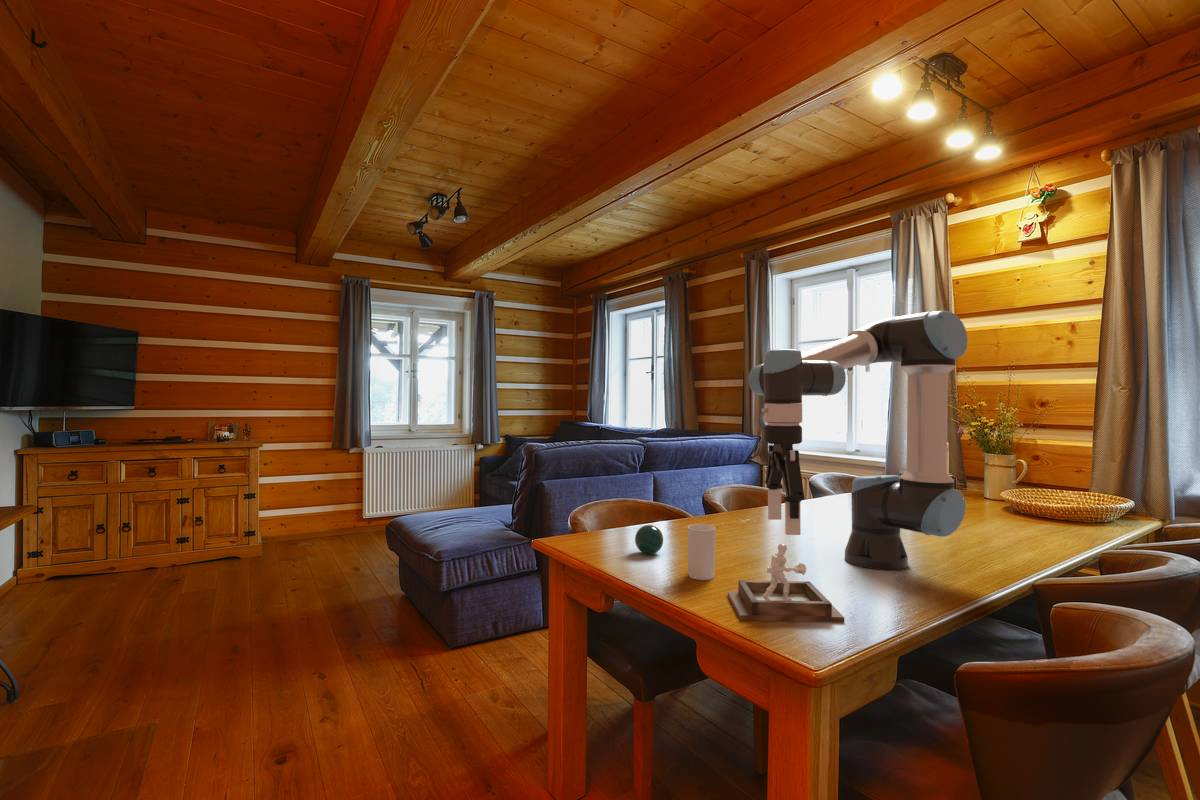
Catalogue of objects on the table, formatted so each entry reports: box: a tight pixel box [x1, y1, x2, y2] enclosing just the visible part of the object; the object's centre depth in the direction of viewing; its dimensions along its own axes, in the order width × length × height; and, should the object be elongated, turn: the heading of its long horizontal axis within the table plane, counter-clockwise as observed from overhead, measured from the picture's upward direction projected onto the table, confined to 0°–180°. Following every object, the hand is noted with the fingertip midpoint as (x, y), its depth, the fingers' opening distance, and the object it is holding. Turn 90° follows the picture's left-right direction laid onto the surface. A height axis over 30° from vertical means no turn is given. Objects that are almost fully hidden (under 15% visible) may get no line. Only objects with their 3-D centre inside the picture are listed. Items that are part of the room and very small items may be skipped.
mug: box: [687, 523, 716, 581], centre depth 140 cm, size 10×7×12 cm, turn 176°
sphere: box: [634, 524, 664, 555], centre depth 159 cm, size 8×8×8 cm
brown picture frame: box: [727, 579, 845, 623], centre depth 118 cm, size 20×14×4 cm
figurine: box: [762, 543, 807, 601], centre depth 118 cm, size 5×9×12 cm, turn 112°
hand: (783, 526), depth 118 cm, fingers open, 13 cm apart
